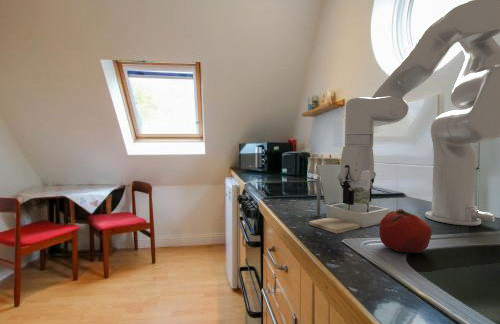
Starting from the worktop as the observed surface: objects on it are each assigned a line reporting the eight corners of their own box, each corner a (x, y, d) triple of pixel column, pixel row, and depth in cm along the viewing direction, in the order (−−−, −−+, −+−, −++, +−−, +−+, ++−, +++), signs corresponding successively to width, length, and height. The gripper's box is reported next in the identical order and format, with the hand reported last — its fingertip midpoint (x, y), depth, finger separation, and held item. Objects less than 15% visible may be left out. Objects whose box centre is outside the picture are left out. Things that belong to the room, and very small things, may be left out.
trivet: (359, 227, 65) (359, 224, 65) (336, 233, 60) (336, 230, 60) (331, 219, 72) (331, 216, 72) (309, 224, 67) (309, 221, 67)
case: (388, 221, 71) (390, 179, 71) (359, 228, 64) (360, 181, 63) (344, 210, 84) (345, 174, 83) (315, 216, 76) (316, 176, 76)
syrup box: (366, 217, 75) (367, 169, 74) (369, 222, 69) (370, 170, 69) (345, 215, 77) (346, 168, 76) (347, 220, 71) (348, 169, 71)
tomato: (413, 242, 54) (414, 206, 54) (443, 261, 45) (444, 217, 45) (369, 241, 55) (370, 205, 55) (389, 259, 46) (391, 215, 45)
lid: (342, 164, 84) (340, 165, 85) (318, 165, 77) (315, 165, 78) (351, 200, 81) (349, 200, 82) (326, 203, 75) (324, 204, 75)
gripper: (364, 143, 80) (363, 197, 81) (328, 141, 71) (326, 203, 71) (388, 142, 74) (386, 201, 74) (351, 140, 64) (349, 208, 65)
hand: (357, 202), depth 73 cm, fingers closed on syrup box, 7 cm apart
